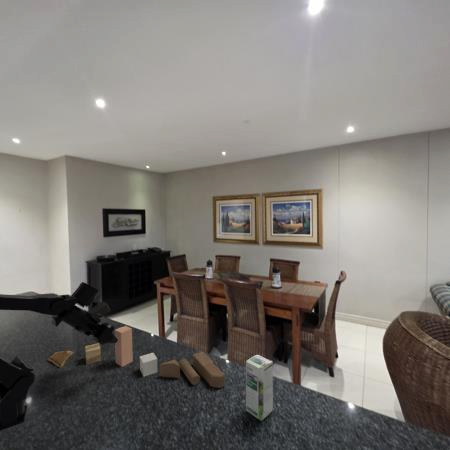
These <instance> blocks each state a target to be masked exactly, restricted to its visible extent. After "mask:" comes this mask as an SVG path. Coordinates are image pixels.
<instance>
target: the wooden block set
mask: <svg viewBox="0 0 450 450" xmlns="http://www.w3.org/2000/svg"><path fill="white" fill-rule="evenodd" d="M192 366H193V367H192ZM159 367H160V368H159V369H160V371H159V373H160V374H159V375H160V377H163V378H172V379H181V371H182V372H183V374H184V376H186V378H187V380H188V381H189V382H190V384H192V385H193V386H196V385H198V384H199V383H200V381H201V378H203V379H204V380H205V381H206V382H207V384H208V385H209V386H210V387H211V388H216V389H221V388H223V387H225V386H226V374H225V373H224V372H223V371H221V369H220V368H219V367H218V366H217V365H216V364H215V363H214V361H213V360H212V358H211V357H209V356H208V355H207V354H206V353H205V351H199V352H197V353H193V354H192V365H191V364H190V362H189V361H188V360H187V359H186V358H181V359H180V360H179V361H177V360H176V359H172V360H169V361H165V362H163V363H159ZM196 371H197V372H196Z"/></svg>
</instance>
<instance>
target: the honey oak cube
mask: <svg viewBox="0 0 450 450" xmlns="http://www.w3.org/2000/svg"><path fill="white" fill-rule="evenodd" d="M84 347H85V349H84V351H85V352H84V353H85V363H86V365H90V364H93V363H97V362H100V361H102V355H101V354H102V353H101V352H102V351H101V350H102V349H101V344H100V343H98V342H96V343H93V344H90V345H86V346H84Z"/></svg>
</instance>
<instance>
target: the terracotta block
mask: <svg viewBox="0 0 450 450" xmlns="http://www.w3.org/2000/svg"><path fill="white" fill-rule="evenodd" d="M114 335H115V337H116V338H117V339H118V341H117V343H114V344H115V345H114V349H115V354H114V357H115V359H114V360H115V364H117V366H119V367H121V368H123V367H125V366H127V365H128V364H130V363H133V328H132V327H129V326H128V325H124V326H122V327H119V328H116V329H114Z"/></svg>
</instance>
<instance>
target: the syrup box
mask: <svg viewBox="0 0 450 450" xmlns="http://www.w3.org/2000/svg"><path fill="white" fill-rule="evenodd" d="M273 362H274V361H273V360H271V359H268V358H265V357H264V356H262V355H259V354H256V355H253V356H252V357H250V358H249V359H247V360H246V361H245V381H246V382H245V384H246V385H245V390H246V391H245V392H246V393H245V399H246V400H245V401H246V403H245V404H246V405H245V406H246V407H245V410H246V412H248V413H249V414H250V415H252V416H254V417H255V418H256V419H258V420H259V421H261V422H262V421H263V420H264V419H265V418H267V416H269V415H270V413H272V412H273V410H274V401H273V400H274V397H273V395H274V393H273V392H274V388H273V387H274V380H273V379H274V377H273V375H274V372H273V370H274V363H273Z"/></svg>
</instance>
